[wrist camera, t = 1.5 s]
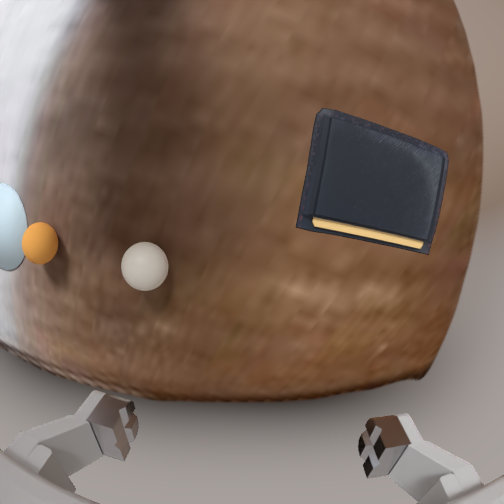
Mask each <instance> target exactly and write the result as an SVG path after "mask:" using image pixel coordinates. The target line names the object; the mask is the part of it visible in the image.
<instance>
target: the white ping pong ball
mask: <svg viewBox="0 0 504 504" xmlns="http://www.w3.org/2000/svg"><path fill="white" fill-rule="evenodd" d="M168 267H169V266H168V260H167V257H166V255H165V253H164V252H163V250H162V249H161V248H160V247H158V246H157V245H155V244H153V243H150V242H140V243H136V244H134V245H132V246H131V247H130V248H129V249H128V250H127V251H126V252H125V254H124V256H123V258H122V262H121V270H122V274H123V277H124V279H125V280H126V282H127V283H128V284H129V285H130V286H131V287H133V288H135V289H137V290H141V291H149V290H153V289H155V288H157V287H159V286H160V285H161V284H162V283H163V282H164V280H165V279H166V276H167V274H168Z"/></svg>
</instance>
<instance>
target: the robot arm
mask: <svg viewBox="0 0 504 504" xmlns="http://www.w3.org/2000/svg"><path fill="white" fill-rule="evenodd" d="M134 410H135V406H134V402H133V401H130V400H127V399H124V398H120V397H117V396H114V395H110V394H106V393H103V392H100V391H97V390H95V391H92V392H91V394H90V395H89V396H88V398H87V399H86V400H85V401H84V403H83V404H82V405H81V407H80V408H79V409H78V411H77V412H76V413H75V414H74V416H72V415H68V416H65V417H63V418H60V419H57V420H54V421H51V422H49V423H46V424H43V425H40V426H37V427H34V428H31V429H27V430H24V431H21V432H20V433H19V434H18V436H17V437H16V438H15V439H14V440H13V441H12V443H11V444H10V445H9V446H8V447H7V448H6V450H5V451H4V452H3V451H2V450H1V449H0V504H99V503H96V502H94V501H91V500H89V499H87V498H84V497H82V496H80V495H77V494H75V493H74V492H75V490H76V488H75V486H74V485H73V483H72V482H71V480H70V479H69V478H68V476H70V475H72V474H74V473H75V472H77V471H79V470H80V469H82V468H84V467H86V466H87V465H89V464H91V463H92V462H94V461H95V460H97V459H99V458H100V457H102V456H103V455H106V456H109V457H112V458H115V459H119V460H122V461H125V459H126V457H127V455H128V453H129V451H130V445H129V443H130V442H132V441H134V440H135V438H136V435H137V432H138V418H137V416H136V415H135V414H134V413H133V412H134ZM365 427H366V429H367V430H366V431H364V432H363V433H362V434H361V436H360V438H359V443H358V451H359V454H360V457H362V458H363V459H364V460H365V462H364V464H363V467H364V471H365V474H366V477H367V478H373V477H380V476H385V475H388V477H390V479H392V480H393V481H394V482H395V483H396V484H397V485H399V486H400V487H401V488H402V489H403V490H405V491H406V492H407V493H408V494H409V495H411V496H412V497H413V498H414V499H415V500H417V501H418V503H417V504H504V475H502V476H501V477H499V478H497V479H495V480H494V481H492V482H490V483H488V484H486V485H485V486H484V485H483V483H482V481H481V480H480V478H479V476H478V474H477V473H476V471H475V469H474V468H473V466H472V464H470V463H468V462H466V461H464V460H462V459H460V458H458V457H457V456H455V455H453V454H451V453H449V452H447V451H445V450H443V449H442V448H440V447H438V446H436V445H434V444H432V443H431V442H429V441H423V439H422V437H421V435H420V433H419V432H418V430H417V428H416V426H415V424H414V423H413V421H412V419H411V417H410V416H409V415H408V414H407V413H404V414H398V415H391V416H384V417H376V418H370V419H369V420H368V421H367V423H366V425H365Z"/></svg>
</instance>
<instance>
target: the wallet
mask: <svg viewBox="0 0 504 504" xmlns="http://www.w3.org/2000/svg"><path fill="white" fill-rule="evenodd" d="M448 162H449V160H448V155H447V152H445V151H443V150H441V149H440V148H438V147H435V146H433V145H431V144H429V143H426V142H424V141H421V140H419V139H416V138H414V137H411V136H408V135H406V134H403V133H400V132H398V131H395V130H392V129H389V128H387V127H384V126H381V125H378V124H376V123H373V122H370V121H367V120H364V119H361V118H358V117H355V116H352V115H349V114H346V113H343V112H340V111H337V110H331V109H325V108H322V109H321V110H320V111H319V112H318V113H317V114H316V118H315V123H314V127H313V134H312V140H311V147H310V153H309V159H308V166H307V171H306V176H305V181H304V186H303V191H302V196H301V202H300V207H299V213H298V218H297V223H296V228H300V229H305V230H309V231H313V232H320V233H327V234H333V235H338V236H343V237H348V238H353V239H358V240H363V241H368V242H373V243H378V244H382V245H387V246H392V247H396V248H401V249H405V250H410V251H414V252H419V253H423V254H428V255H429V251H430V248H431V244H432V241H433V238H434V234H435V231H436V227H437V223H438V218H439V214H440V210H441V205H442V200H443V195H444V189H445V183H446V177H447V171H448Z"/></svg>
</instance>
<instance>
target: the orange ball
mask: <svg viewBox="0 0 504 504" xmlns="http://www.w3.org/2000/svg"><path fill="white" fill-rule="evenodd" d="M22 249H23V252H24V255H25V256H26V258H27V259H28V260H29V261H31V262H32V263H35V264H45V263H47V262H49V261H50V260H51V259H52V258H53V257H54V256H55V254H56V252H57V249H58V237H57V234H56V232H55V230H54V229H53V228H52V227H51V226H50V225H48V224H46V223H43V222H38V223H34V224H32V225H31V226H29V227H28V228H27V229H26V231H25V233H24V235H23V238H22Z"/></svg>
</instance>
